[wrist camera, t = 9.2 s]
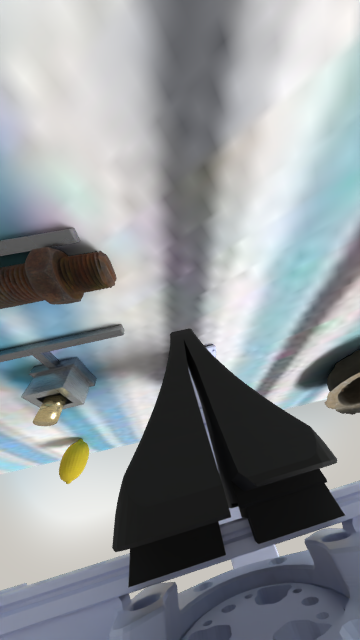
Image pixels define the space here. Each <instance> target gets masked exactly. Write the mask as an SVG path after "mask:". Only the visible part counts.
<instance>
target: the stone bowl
mask: <svg viewBox="0 0 360 640" xmlns="http://www.w3.org/2000/svg"><path fill="white" fill-rule="evenodd" d="M327 385H328V389H329V391H330V393H329V394H328V397H327V401H326V402H325V404H326V406H327V407H328V408H332V409H336V411H338V412H340V413H343V414H344V413H346V414H355V413H360V350H357V351H355V352H354V353H353V354H352V355H350V356H348V357H346V358H345V359H343V360H341V361H339V362H337V363H336V364H335V367H334V369H333V370H332V371H331V373H330V374H329V376H328V379H327Z"/></svg>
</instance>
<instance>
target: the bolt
mask: <svg viewBox="0 0 360 640" xmlns="http://www.w3.org/2000/svg"><path fill="white" fill-rule="evenodd" d="M115 281H116V275H115V272H114V270H113V267H112V264H111V262H110V260H109V258H108V257H107V255H106V254H104V253H103V252H101V251H99V253H98V252H97V251H96V252H95V253H94V252H92V253H91V254H90V253H87V254H85V253H84V254H83V255H82V254H80V255H75V256H73V255H72V256H68V255H66V254H65V253H64V252H62V251H59V250H57V249H53V248H49V247H43V248H37V249H32V250H31V252H30V253H29V254H28V256H27V258H26V261H25V263H23V264H18V265H13V266H6V267H1V268H0V309H2V308H8V307H13V306H18V305H23V304H28V303H33V302H39V301H43V300H46V301H47V302H49V303H50V304H69V303H74V302H79V301H81V299H82V297H83V295H84V293H85V292H90V291H94V290H101V288H102V289H104V288H108V287H110V288H111V287H112V286H114V285H115Z"/></svg>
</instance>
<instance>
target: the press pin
mask: <svg viewBox="0 0 360 640" xmlns="http://www.w3.org/2000/svg"><path fill="white" fill-rule="evenodd" d="M66 400H67V399H66V397H64V396H62V395H49V396H47V397H46V398H45V399H44V401H43V403H42V405H41V407H40V409H39V411H38V413H37V414H36V416H35V418H34V420H33V423H34V424H35V425H38V426H51V425H54V424H56V423H57V422H58V419H59V417H60V414H61V412H62V409H63V407H64V405H65V402H66Z"/></svg>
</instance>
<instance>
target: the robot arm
mask: <svg viewBox="0 0 360 640" xmlns="http://www.w3.org/2000/svg"><path fill="white" fill-rule="evenodd" d="M335 463H337V458H336V457H335V456H334V455H333V453H332V452H331V451H330V449H329V448H328V447H327V445H326V444H325V443H324V442H323V440H322V439H321V438H320V437H319V436H318V435H317V434H316V433H315V432H314V430H313V429H312V428H311V427H310V426H308V425H307V424H305V423H303V422H302V421H300V420H298V419H297V418H295V417H294V416H292V415H290V414H289V413H287V412H285V411H284V410H283V409H281V408H279V407H278V406H276V405H275V404H273V403H272V402H270V401H269V400H267V399H266V398H264V397H263V396H262V395H260V394H259V393H258V392H256V391H255V390H253V389H252V388H251V387H249V386H248V385H246V384H245V383H244V382H243V381H241V380H240V379H239V378H238V377H236V376H235V375H234V374H233V373H232V372H230V371H229V370H228V369H227V368H226V367H225V366H224V365H222V364H221V363H220V362H219V361H218V360H217V359H216V346H215V345H211V346H207V347H205V346H204V345H203V344H202V343H201V342H200V340H199V339H198V338H197V337H196V335H195V334H194V332H193V331H192V329H185V330H180V331H176V332H172V333H171V334H170V351H169V357H168V363H167V367H166V371H165V375H164V379H163V383H162V386H161V389H160V392H159V395H158V398H157V401H156V404H155V407H154V409H153V412H152V415H151V417H150V419H149V422H148V424H147V427H146V429H145V431H144V434H143V436H142V439H141V441H140V443H139V445H138V447H137V449H136V452H135V454H134V456H133V458H132V460H131V462H130V464H129V466H128V468H127V470H126V473H125V475H124V477H123V481H122V484H121V489H120V493H119V497H118V502H117V509H116V514H115V525H114V536H113V547H112V548H113V549H114V551H115V552H118V551H123V550H127V549H130V553H129V554H126V555H123V556H119V557H116V558H113V559H110V560H107V561H104V562H100V563H97V564H94V565H91V566H88V567H85V568H81V569H78V570H75V571H72V572H69V573H66V574H62V575H59V576H56V577H53V578H50V579H47V580H44V581H40V582H37V583H34V584H31V585H28V586H27V583H24V584H21V585H17V586H14V587H11V588H8V589H5V590H2V591H0V640H360V481H357V482H353V483H351V484H347V485H344V486H341V487H338V488H334V489H331V490H329V489H328V488H327V486H326V485H325V483H326V482H327V480H326V478H325V477H324V475H323V474H322V472H321V471H320V468H323V467H326V466H329V465H332V464H335ZM340 522H342V525H343V529H337V528H328V529H322V528H325V527H328V526H331V525H334V524H337V523H340ZM320 529H322V530H320ZM316 530H319V531H317V532H315V533H314V534H312V535H311V536H310V537H308V538H306V539H305V544H306V546H307V549H308V550H306V551H302V552H298V553H293V554H289V555H285V556H280V557H279V554H278V551H277V548H276V546H275V544H277V543H280V542H283V541H286V540H290V539H293V538H296V537H298V536H302V535H305V534H308V533H310V532H314V531H316ZM230 559H231V561H232V565H233V570H231V571H228V572H225V573H223V574H220V575H218V576H216V577H213V578H211V579H209V580H207V581H205V582H202V583H200V584H198V585H196V586H194V587H191V588H189V589H187V590H185V591H183V592H181V593H177V585H176V583H175V582H169V583H161V582H164V581H167V580H170V579H173V578H176V577H179V576H182V575H185V574H188V573H191V572H194V571H197V570H200V569H203V568H206V567H209V566H212V565H215V564H218V563H221V562H224V561H227V560H230ZM146 587H147V588H146ZM143 588H145V589H144V590H143V591H141V592H140V593H139V594H138V595H136V596H135V597H134V598H133V599H132V600H131V599H130V596H129V593H131V592H134V591H137V590H140V589H143Z"/></svg>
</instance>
